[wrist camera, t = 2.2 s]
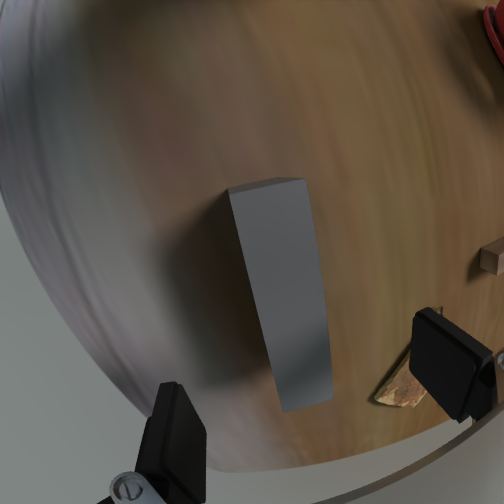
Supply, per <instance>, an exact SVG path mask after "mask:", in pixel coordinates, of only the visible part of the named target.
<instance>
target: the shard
mask: <svg viewBox="0 0 504 504" xmlns="http://www.w3.org/2000/svg"><path fill="white" fill-rule="evenodd" d="M433 310H434V311H436V312H437V313H439V314H440V315H442V316H443V306H440V307H439V308H435V307H433ZM410 349H411V348H410ZM409 359H410V350H409V351H408V353H407V355H406V357H405V358H404V359H403V360H402V362H401V363H400V364H399V366H398V367H397V368H396V370H395V371H394V372H393V374H392V375H391V376H390V378H389V379H388V380H387V381H386V382H385V384H383V386H382V387H381V388H380V389H379V391H378V392H377V393H376V394H375V395H374V398H375V400H377V401H379V402H381V403H385V404H387V405H393V406H407V407H414V406H415V405H416V404H417V403H418V402H419V401H420V400H421V398H422V397H423V396H424V394H425V393H426V392H427V390H426V389H425V388H424V387H423V386H422V385H421V384H420V383H419V381H418V380H417V379H416V378H415V377H414V376H413V375H412V374H411V372H410V370H409Z"/></svg>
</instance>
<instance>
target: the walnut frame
mask: <svg viewBox="0 0 504 504" xmlns="http://www.w3.org/2000/svg"><path fill="white" fill-rule="evenodd" d="M480 268H482V269H484V270H486V271H488V272H490V273H492V274H494V275H496V276H497V275H499V274H500V273H502V272H504V237H503V238H501V239H499V240H497V241H495V242H492V243H490V244H488V245H486V246H484V247H481V256H480ZM502 350H504V348H503V349H502ZM502 350H501V351H502ZM499 352H500V351H499ZM499 352H498V353H499ZM498 353H497V354H498ZM495 356H496V355H494V356H493V357H494V358H495Z"/></svg>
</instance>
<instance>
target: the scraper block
mask: <svg viewBox="0 0 504 504" xmlns="http://www.w3.org/2000/svg"><path fill="white" fill-rule="evenodd" d="M228 193H229V197H230V202H231V206H232V210H233V214H234V218H235V222H236V227H237V231H238V235H239V239H240V243H241V247H242V251H243V255H244V259H245V264H246V268H247V272H248V276H249V280H250V284H251V288H252V292H253V296H254V300H255V304H256V308H257V312H258V316H259V320H260V324H261V328H262V332H263V336H264V340H265V344H266V348H267V352H268V356H269V360H270V364H271V368H272V372H273V376H274V379H275V383H276V387H277V391H278V395H279V399H280V403H281V407H282V410H283V413H285V412H289V411H293V410H297V409H300V408H304V407H307V406H311V405H314V404H317V403H321V402H324V401H327V400H330V399H333V398H334V396H333V379H332V366H331V353H330V342H329V332H328V322H327V313H326V305H325V297H324V289H323V281H322V274H321V267H320V260H319V253H318V247H317V240H316V234H315V228H314V222H313V217H312V211H311V206H310V200H309V195H308V190H307V185H306V180H305V178H285V177H276V178H271V179H267V180H262V181H257V182H253V183H248V184H244V185H240V186H235V187H231V188H228Z"/></svg>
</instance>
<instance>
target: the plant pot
mask: <svg viewBox="0 0 504 504" xmlns="http://www.w3.org/2000/svg"><path fill="white" fill-rule="evenodd" d="M483 18H484V24H485V28H486V31H487V34H488V36H489V39H490V41H491V43H492V45H493V47H494V49H495V51H496V53H497V55H498V57H499V59H500V60H501V62H502V64H503V65H504V0H500V1H499V3H498V5H497V6H494V5H487V6H486V7H485V9H484V13H483Z"/></svg>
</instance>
